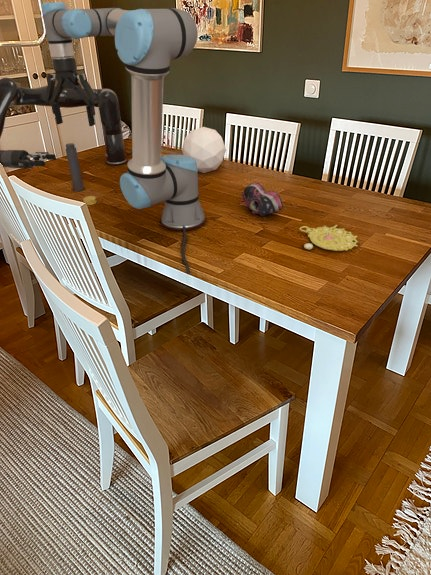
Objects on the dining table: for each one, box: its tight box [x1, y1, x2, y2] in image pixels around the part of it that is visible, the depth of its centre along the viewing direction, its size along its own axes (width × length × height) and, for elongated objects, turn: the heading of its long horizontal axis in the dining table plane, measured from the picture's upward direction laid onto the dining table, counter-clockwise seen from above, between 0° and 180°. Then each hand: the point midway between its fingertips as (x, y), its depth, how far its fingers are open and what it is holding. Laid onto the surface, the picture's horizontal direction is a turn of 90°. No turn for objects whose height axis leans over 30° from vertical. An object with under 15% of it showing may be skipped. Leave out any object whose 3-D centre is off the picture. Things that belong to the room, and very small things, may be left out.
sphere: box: [181, 126, 227, 174], centre depth 199 cm, size 19×20×20 cm
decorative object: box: [299, 224, 359, 252], centre depth 141 cm, size 21×2×20 cm
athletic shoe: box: [238, 182, 284, 217], centre depth 160 cm, size 11×22×12 cm
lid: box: [82, 195, 97, 206], centre depth 173 cm, size 5×5×2 cm
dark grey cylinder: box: [65, 142, 85, 192], centre depth 182 cm, size 4×4×19 cm
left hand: (49, 160), depth 183 cm, fingers open, 8 cm apart
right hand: (75, 124), depth 158 cm, fingers open, 13 cm apart
